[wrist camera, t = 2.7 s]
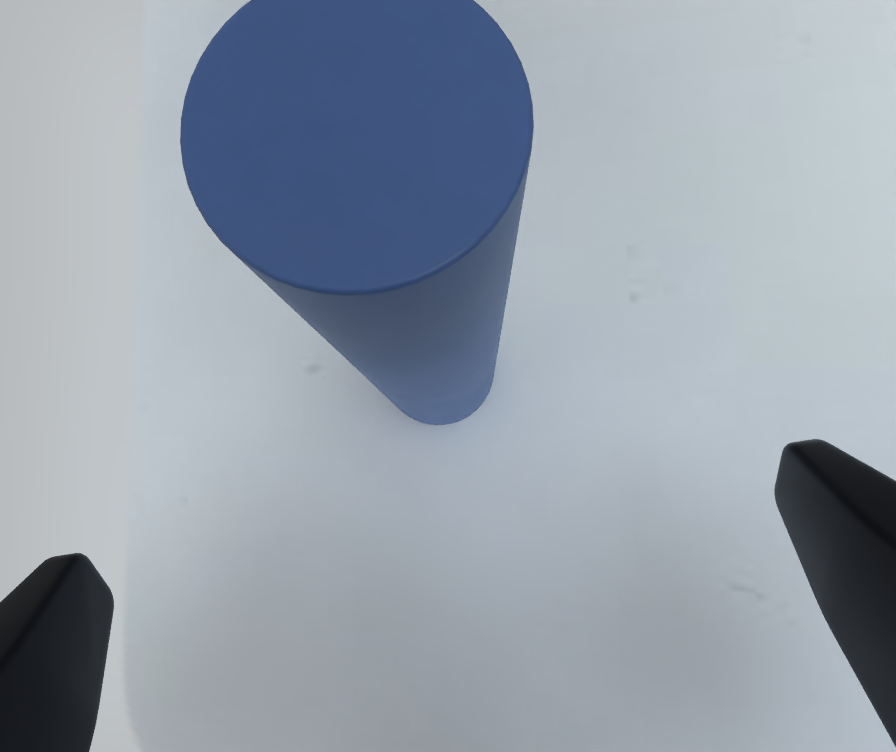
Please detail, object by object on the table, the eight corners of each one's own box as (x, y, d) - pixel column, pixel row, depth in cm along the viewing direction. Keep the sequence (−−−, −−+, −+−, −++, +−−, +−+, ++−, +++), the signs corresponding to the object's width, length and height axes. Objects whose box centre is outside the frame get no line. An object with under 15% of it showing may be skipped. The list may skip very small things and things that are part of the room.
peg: (435, 448, 20) (337, 370, 6) (361, 367, 20) (106, 117, 6) (516, 372, 20) (609, 124, 6) (441, 294, 20) (368, -103, 6)
